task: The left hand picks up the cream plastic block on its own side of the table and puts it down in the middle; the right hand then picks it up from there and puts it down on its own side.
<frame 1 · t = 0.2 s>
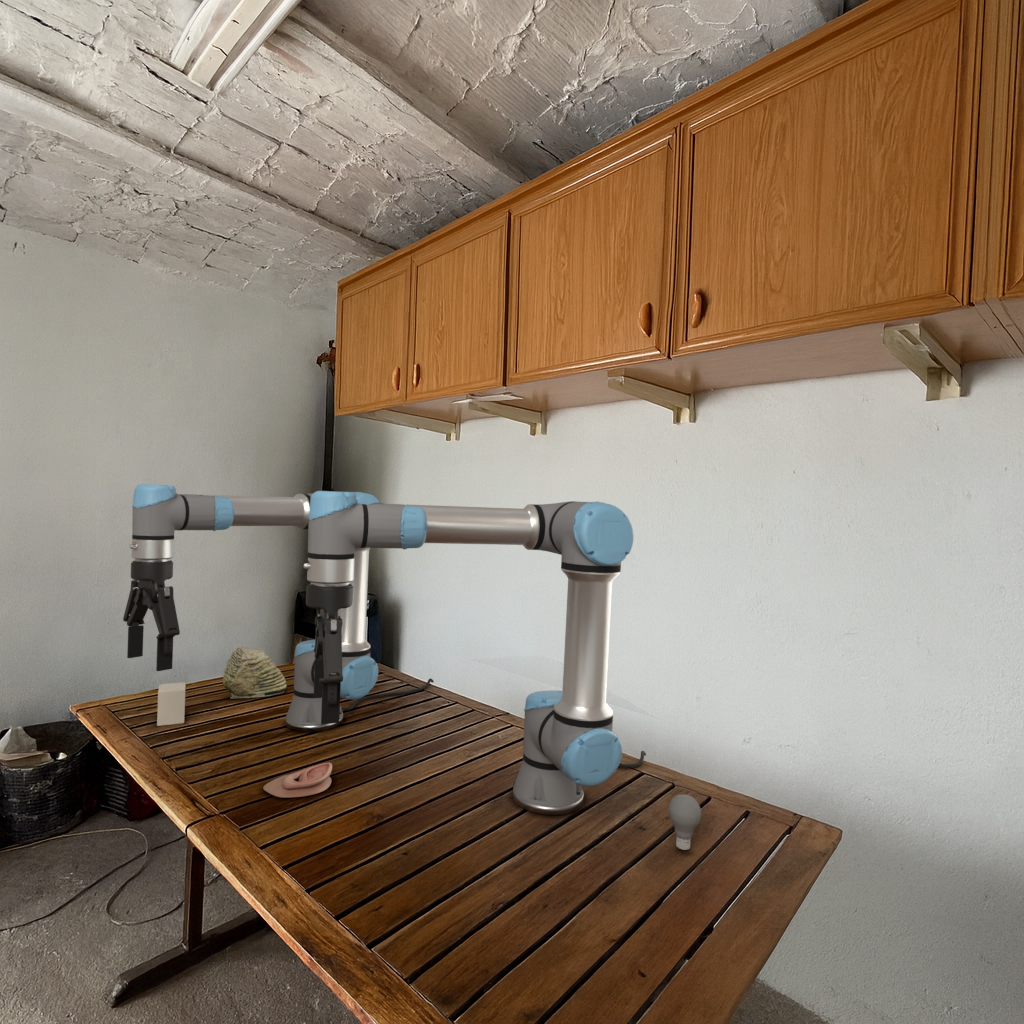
left hand: (149, 663, 130), 28 cm above the table, tool pointing down, fingers open, 13 cm apart
right hand: (325, 709, 106), 28 cm above the table, tool pointing down, fingers open, 13 cm apart
block: (171, 720, 174), on the table
fossil: (254, 694, 198), on the table
light bulb: (682, 849, 119), on the table
anatomical model: (298, 787, 138), on the table
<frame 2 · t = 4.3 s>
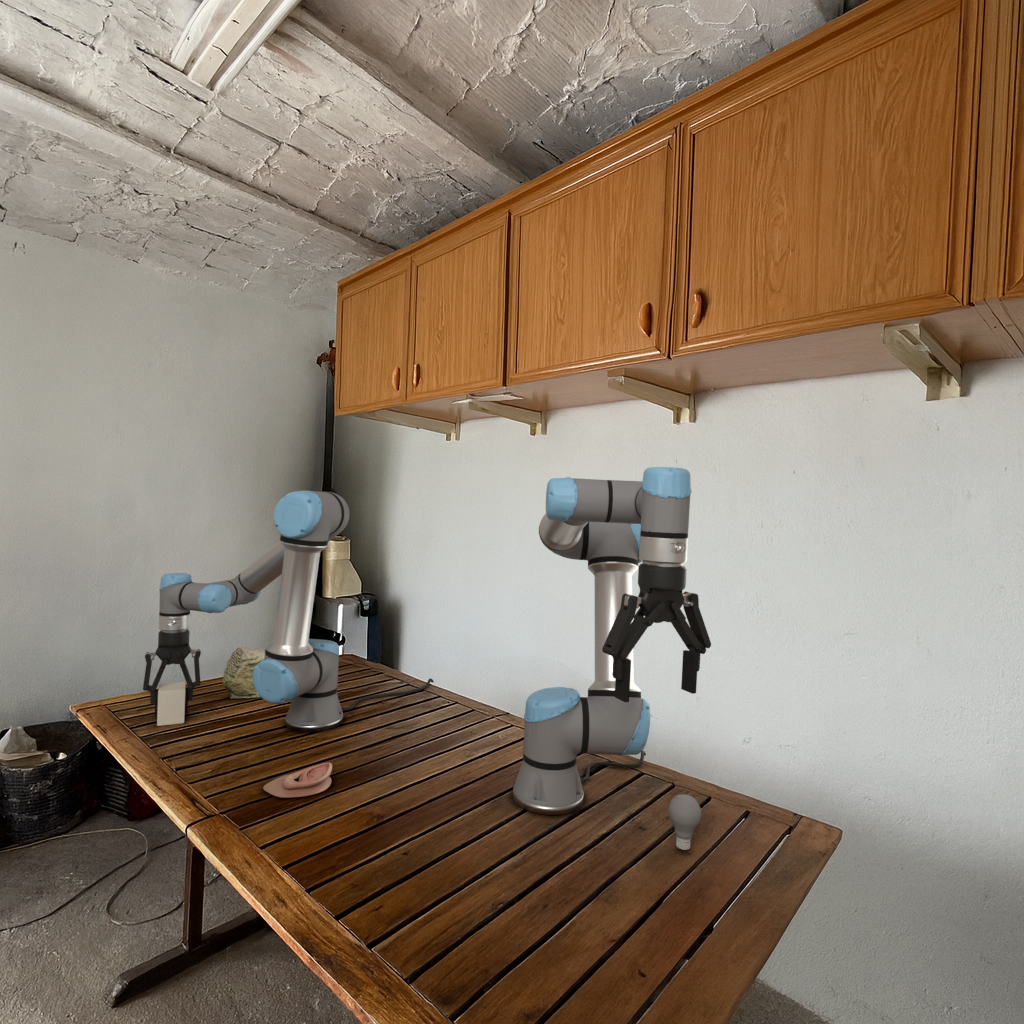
left hand: (171, 713, 174), 2 cm above the table, tool pointing down, fingers closed on block, 6 cm apart
right hand: (656, 695, 102), 34 cm above the table, tool pointing down, fingers open, 13 cm apart
block: (171, 720, 174), on the table, touching left hand
everything else where it was.
when the left hand's fingers open (3 cm above the table, at t = 14.3 s): block drops 1 cm, on the table.
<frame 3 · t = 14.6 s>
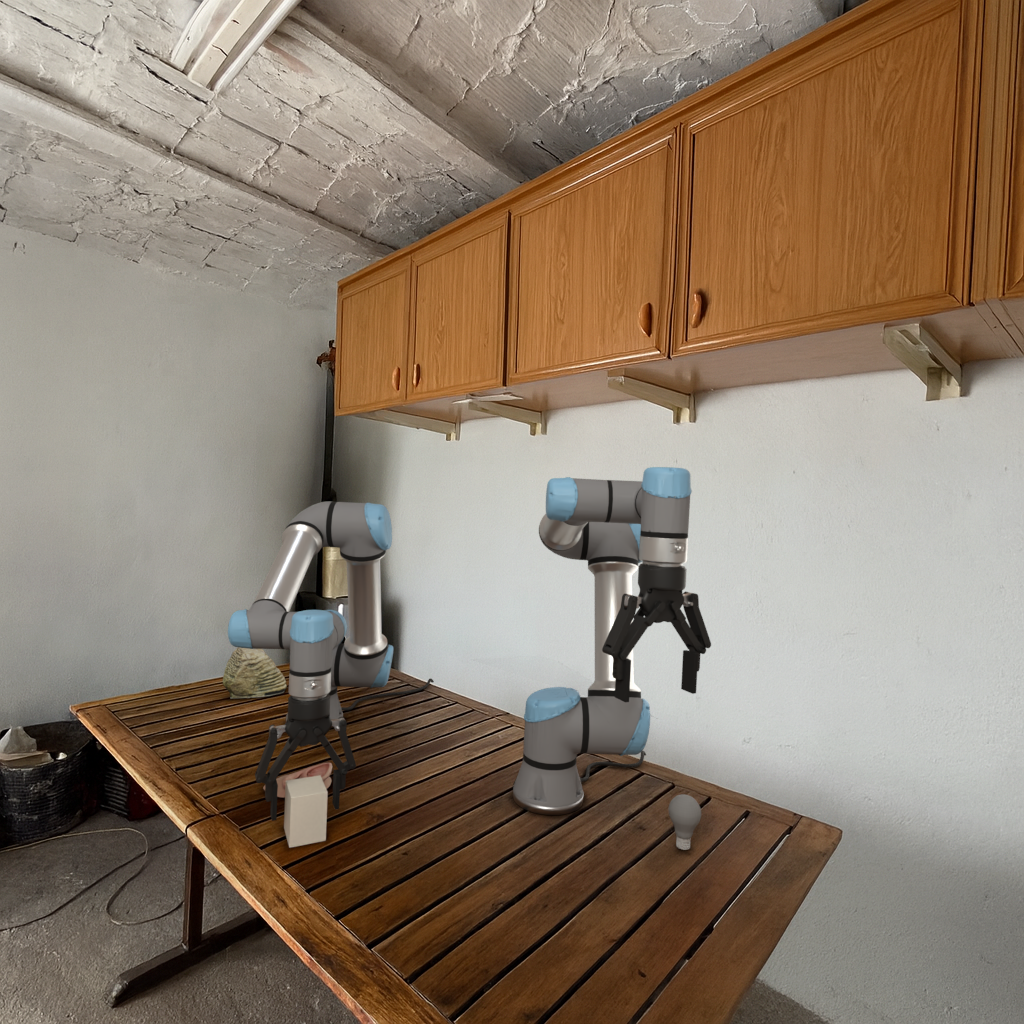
left hand: (305, 811, 119), 4 cm above the table, tool pointing down, fingers open, 10 cm apart
right hand: (656, 695, 102), 34 cm above the table, tool pointing down, fingers open, 13 cm apart
block: (304, 834, 119), on the table
everything else where it was.
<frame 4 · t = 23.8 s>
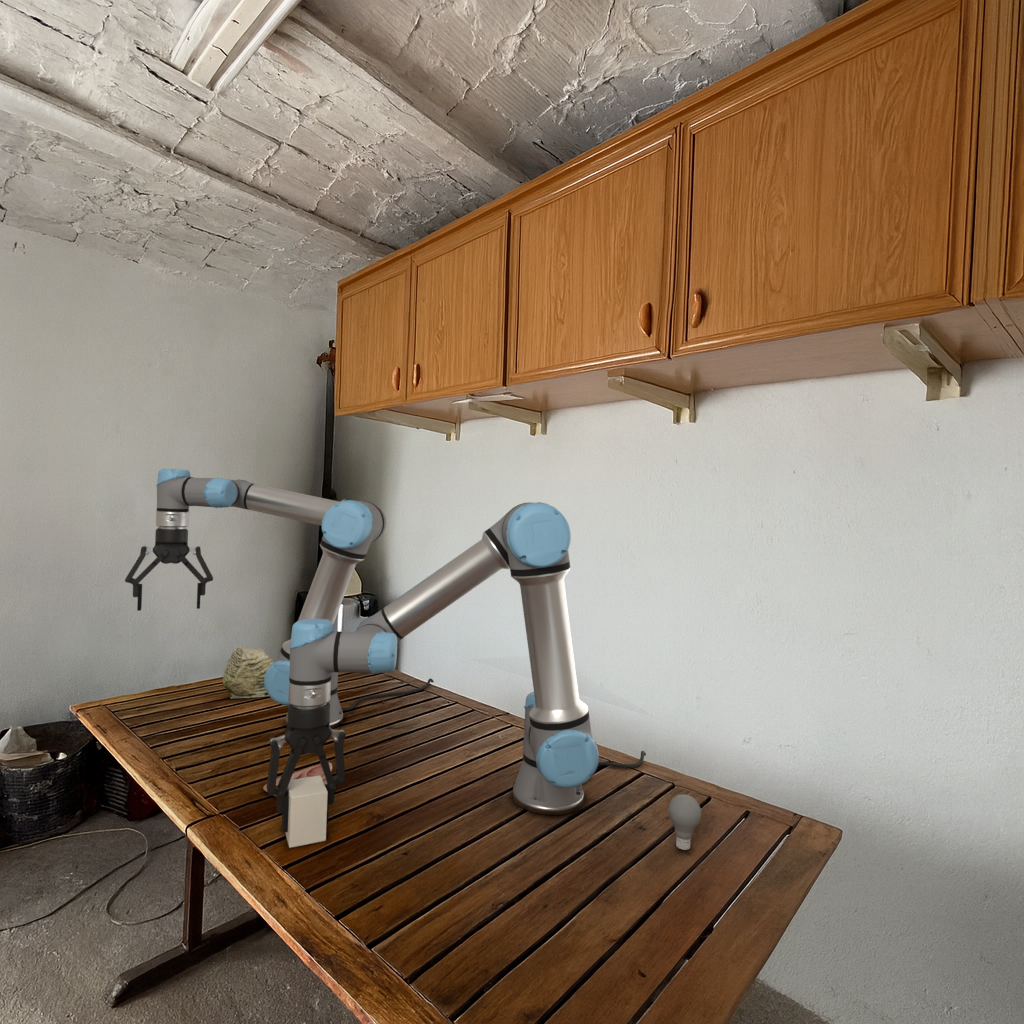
left hand: (169, 608, 166), 32 cm above the table, tool pointing down, fingers open, 13 cm apart
right hand: (305, 824, 119), 2 cm above the table, tool pointing down, fingers closed on block, 6 cm apart
block: (304, 834, 119), on the table, touching right hand
everything else where it was.
when the right hand's fingers open (3 cm above the table, at t = 33.1 s): block drops 2 cm, on the table.
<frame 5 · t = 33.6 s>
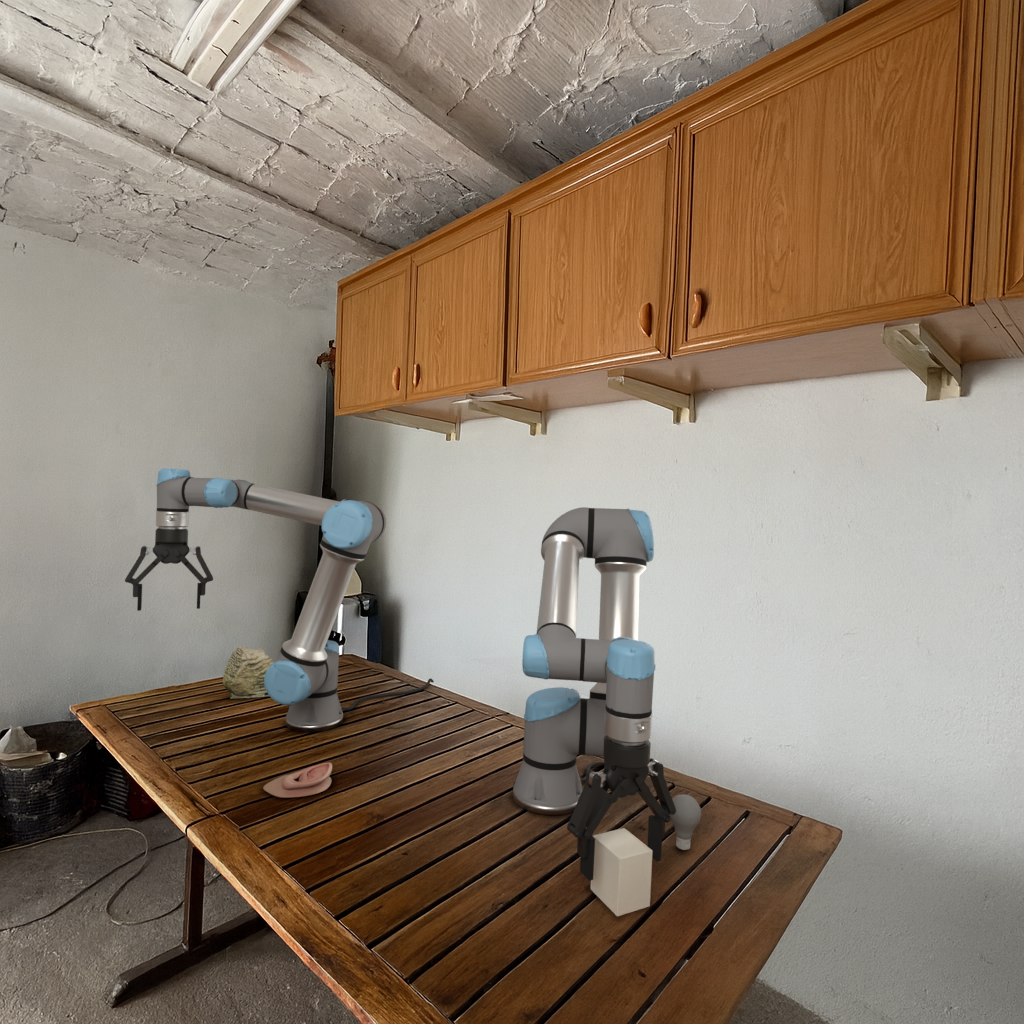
left hand: (169, 608, 166), 32 cm above the table, tool pointing down, fingers open, 13 cm apart
right hand: (621, 866, 104), 5 cm above the table, tool pointing down, fingers open, 13 cm apart
block: (619, 897, 104), on the table
everything else where it was.
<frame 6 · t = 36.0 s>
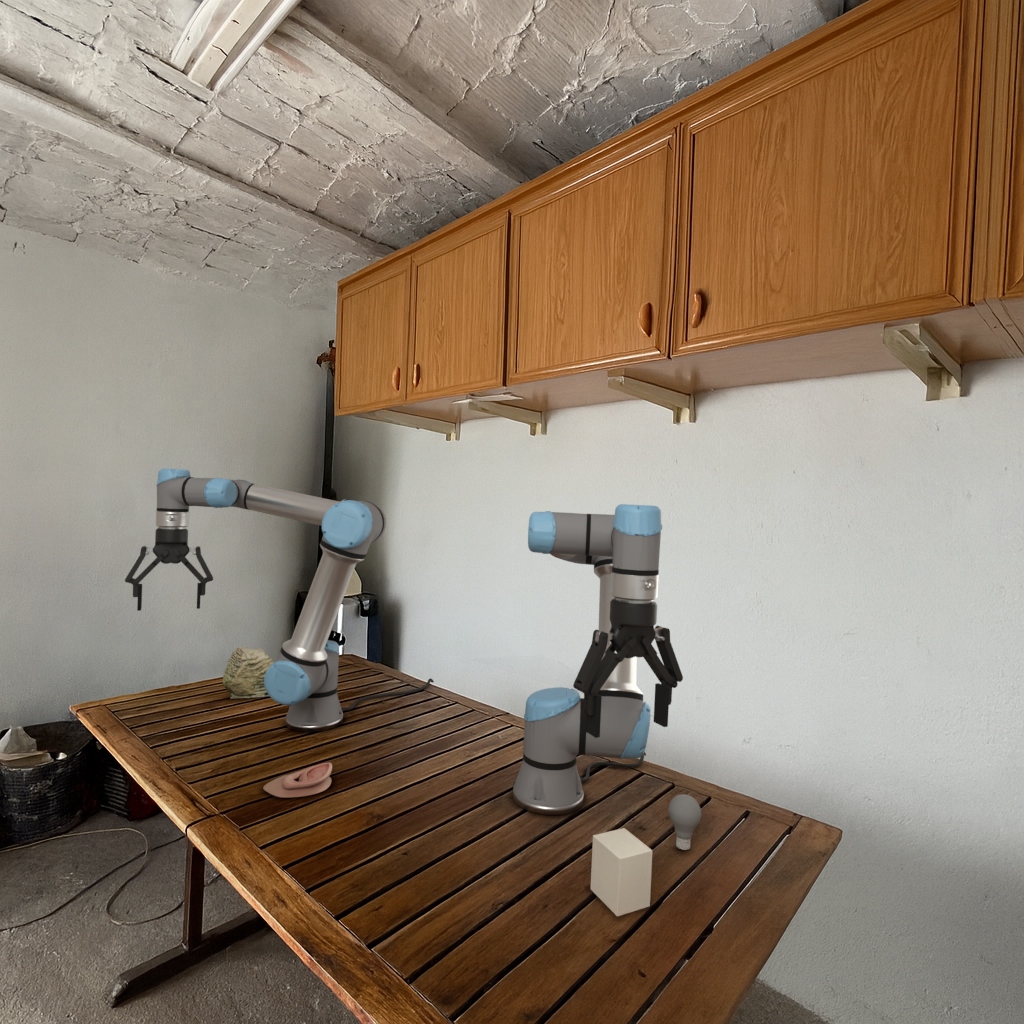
left hand: (169, 608, 166), 32 cm above the table, tool pointing down, fingers open, 13 cm apart
right hand: (627, 729, 103), 28 cm above the table, tool pointing down, fingers open, 13 cm apart
nothing on the table moved.
at the end: block inside the target area (0.2 cm from its centre), on the table; block tilted 0°; the two hands never held the block at the same time; the left hand is holding nothing; the right hand is holding nothing; block at rest at the end (0.0 cm/s) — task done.
